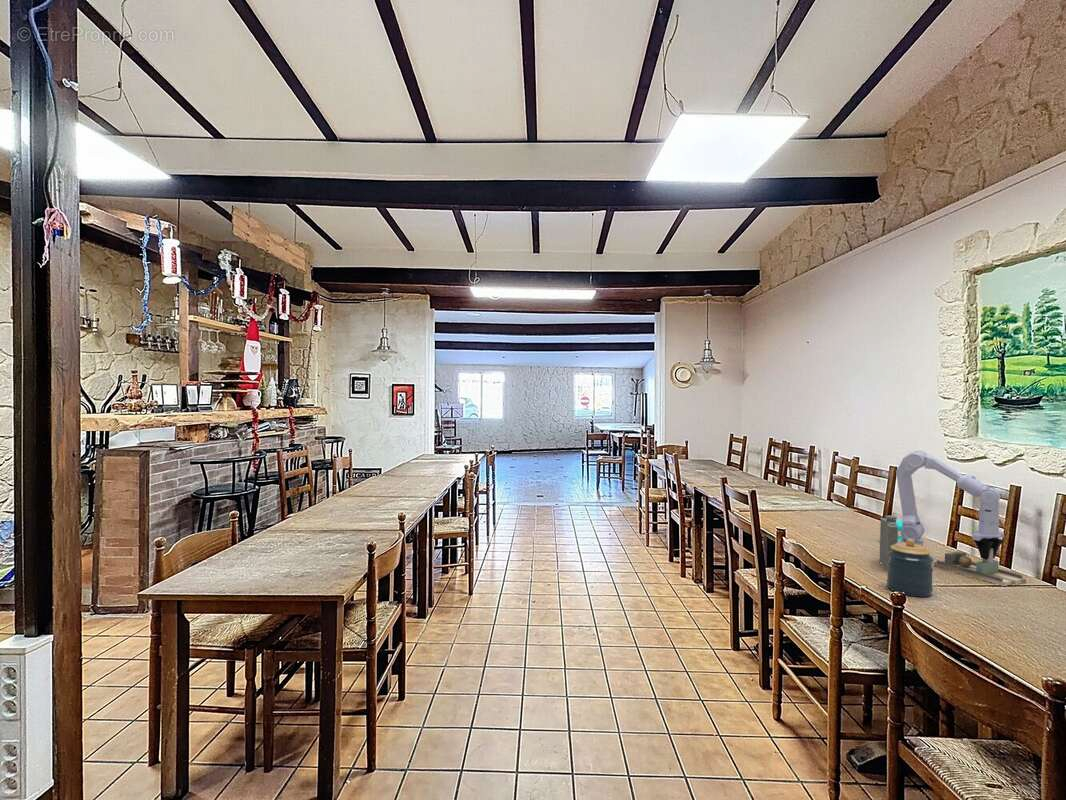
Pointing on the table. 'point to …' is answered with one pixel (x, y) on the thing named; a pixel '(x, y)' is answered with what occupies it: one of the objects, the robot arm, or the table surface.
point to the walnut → (965, 561)
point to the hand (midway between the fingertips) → (987, 558)
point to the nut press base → (997, 577)
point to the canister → (910, 569)
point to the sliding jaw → (988, 564)
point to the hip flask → (887, 537)
